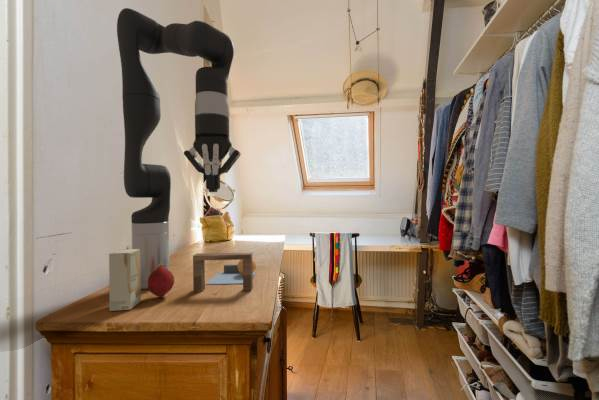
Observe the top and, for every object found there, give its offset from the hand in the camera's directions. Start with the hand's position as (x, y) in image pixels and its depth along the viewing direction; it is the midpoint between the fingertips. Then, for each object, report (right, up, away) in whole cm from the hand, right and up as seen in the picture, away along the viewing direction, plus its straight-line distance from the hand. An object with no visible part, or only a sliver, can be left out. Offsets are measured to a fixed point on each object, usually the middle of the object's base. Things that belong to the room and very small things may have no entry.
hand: (213, 191), depth 69 cm
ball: (+4, -22, +23) cm, 32 cm away
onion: (-13, -25, +3) cm, 29 cm away
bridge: (0, -25, +9) cm, 26 cm away
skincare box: (-19, -26, -2) cm, 32 cm away
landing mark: (0, -25, +20) cm, 32 cm away
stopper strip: (0, -25, +26) cm, 36 cm away
